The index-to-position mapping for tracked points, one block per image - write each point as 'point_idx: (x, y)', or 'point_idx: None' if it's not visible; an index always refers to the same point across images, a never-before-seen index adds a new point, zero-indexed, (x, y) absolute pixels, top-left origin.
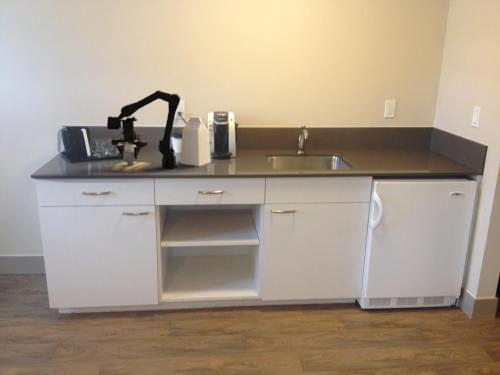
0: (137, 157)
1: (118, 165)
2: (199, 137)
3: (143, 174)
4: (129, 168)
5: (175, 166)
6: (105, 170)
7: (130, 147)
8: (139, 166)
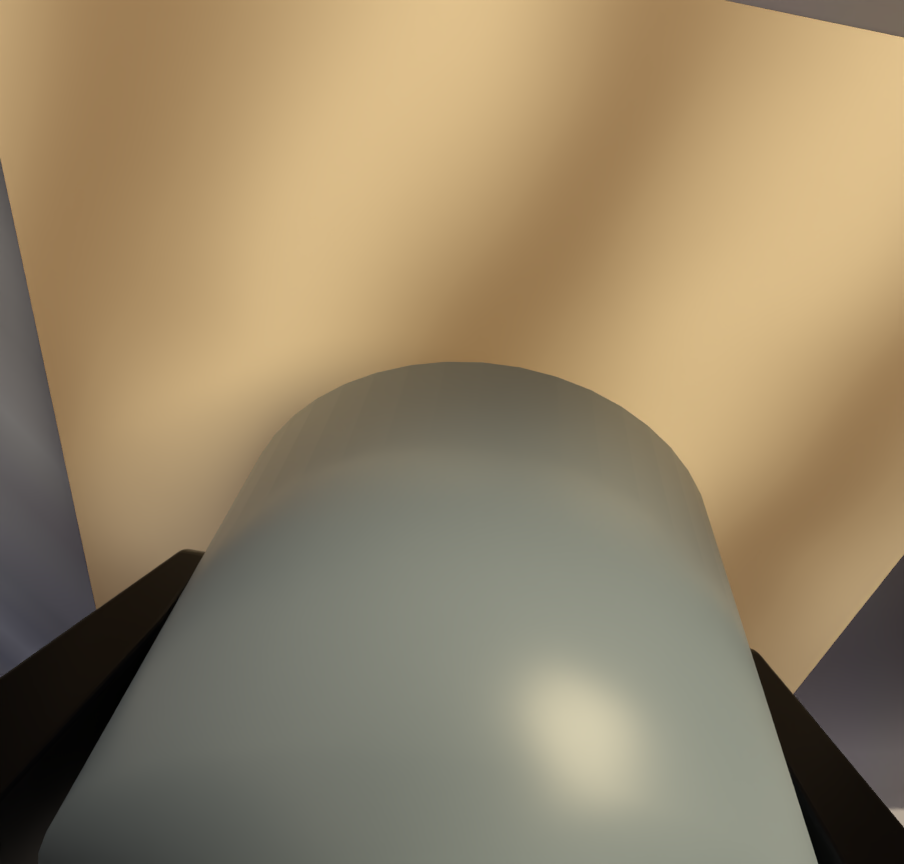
0: (789, 697)
1: (202, 537)
2: None
3: (878, 790)
4: None
5: None
6: None
7: None
8: (780, 580)
